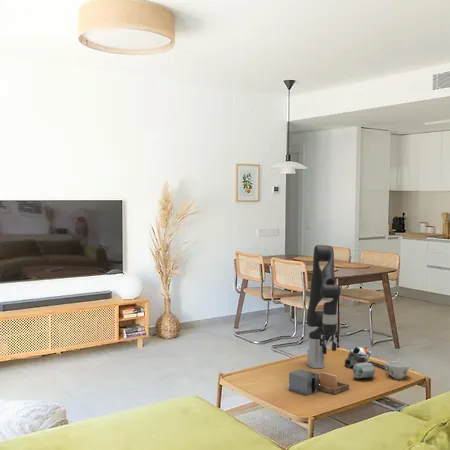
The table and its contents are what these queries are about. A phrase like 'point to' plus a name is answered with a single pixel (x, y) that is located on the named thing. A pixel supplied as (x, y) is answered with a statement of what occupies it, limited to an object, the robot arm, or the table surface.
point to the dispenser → (303, 382)
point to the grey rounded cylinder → (363, 370)
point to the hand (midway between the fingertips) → (329, 352)
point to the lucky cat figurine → (357, 356)
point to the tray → (340, 388)
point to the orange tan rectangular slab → (328, 380)
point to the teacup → (397, 369)
